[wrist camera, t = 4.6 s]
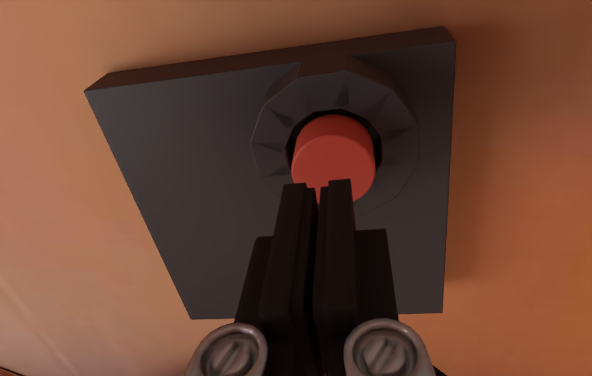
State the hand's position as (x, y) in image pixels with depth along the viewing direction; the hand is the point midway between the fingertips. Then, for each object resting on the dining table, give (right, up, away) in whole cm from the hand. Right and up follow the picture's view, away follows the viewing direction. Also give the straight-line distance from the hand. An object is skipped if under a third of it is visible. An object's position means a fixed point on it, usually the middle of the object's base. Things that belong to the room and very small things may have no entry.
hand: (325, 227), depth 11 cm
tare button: (0, +2, +3) cm, 4 cm away
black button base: (-1, +1, +8) cm, 8 cm away
